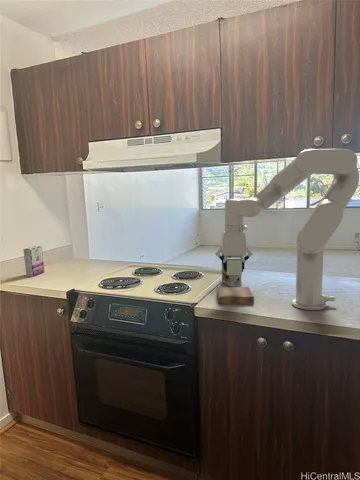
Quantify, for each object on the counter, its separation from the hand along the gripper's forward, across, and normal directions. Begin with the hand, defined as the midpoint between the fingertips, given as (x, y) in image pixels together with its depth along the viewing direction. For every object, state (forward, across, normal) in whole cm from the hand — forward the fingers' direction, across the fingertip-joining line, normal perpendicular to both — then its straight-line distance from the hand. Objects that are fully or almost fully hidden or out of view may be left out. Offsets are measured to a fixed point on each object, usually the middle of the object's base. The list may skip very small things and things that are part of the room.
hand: (233, 270), depth 138 cm
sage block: (+1, 0, 0) cm, 1 cm away
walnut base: (+12, 0, 0) cm, 12 cm away
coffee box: (+12, -1, -23) cm, 26 cm away
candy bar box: (+14, +112, -48) cm, 122 cm away
